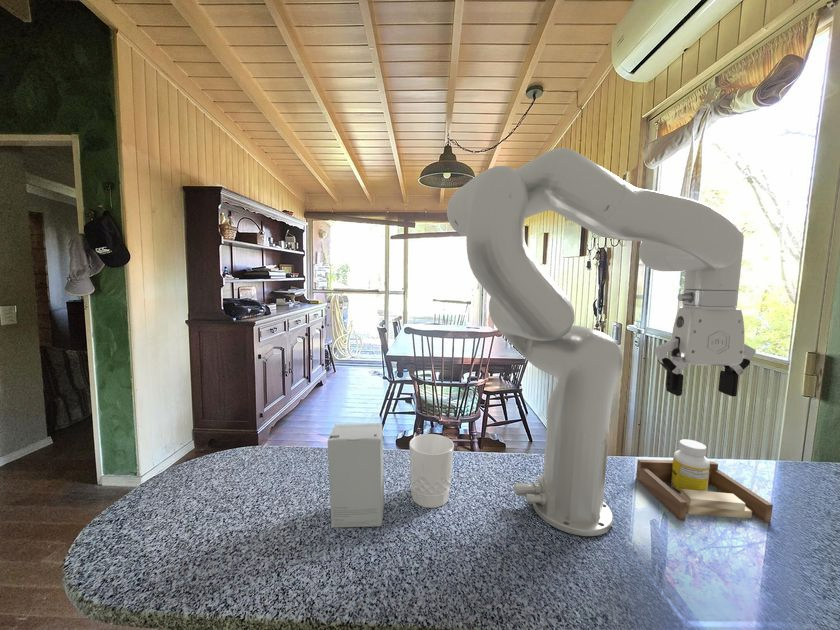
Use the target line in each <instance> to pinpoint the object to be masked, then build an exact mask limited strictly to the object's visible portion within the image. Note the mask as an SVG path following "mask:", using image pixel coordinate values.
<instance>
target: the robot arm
mask: <svg viewBox="0 0 840 630" xmlns="http://www.w3.org/2000/svg"><path fill="white" fill-rule="evenodd" d="M548 211H552V212H554V213H556V214H558V215H560V216H562V217H563V218H565V219H568V220H569V221H571V222H573V223H575V224H577V225H579V226H580V227H582V228H584V229H585V230H588V231H589V232H591V233H592V234H595V236H596V235H597V236H599V237H600V238H601V237H602V238H606V239H611V240H619V241H625V242H626V241H629V242H641V243H640V244H639V248H638V255H639V259H640V261H641V262H642V264H644V265H645V266H646V267H647V268H649V269H650V270H651V269H652V270H654V271H658V272H683V271H684V272H685V273H684V284H683V293H679V294H678V295H677V300H678V302H682V306H679V307H678V310H677V313H676V315H675V319H674V323H673V327H672V328H673V329H672V334H671V339H669V340H668V341H666V342H664V343H662V344H659V345H658V346H656V347H654V348H653V351H654V353H655V355H656V358H657V361H658V363H659V364H660V365H661V366H662V367H663V369H664V370H665V371H666V378H665V387H666V391H667V392H668V393H669V394H672V395H675V396H677V397H681V396H682V394H683V386H684V374H682V371H683V370H684V369H685V368H686V367H687V366H688V365H693V366H713V367H716V366H719V367H720V366H721V367H722V368H723V370H720V373H719V382H718V392H719V393H721V394H724V395H727V396H730V397H737V395H738V387H739V376H741V375H743V374H744V370H745V369H747V367H749V365H750V363H751V360H753V358H754V356H755V355H756V353H757V351H756V349H754V348H753V347H751V346H749V345H747V344H746V343H745V323H744V315H743V312H742V311H743V310H742V309H740V308H738V301H739V300H738V299H739V290H740V282H741V269H742V261H743V259H742V258H743V252H744V251H743V250H744V242H745V241H744V238H745V236H744V233H743V232H742V231H741V230H740V229H739V228H738V227H737V225H736V224H735V223H734V222H733V221H732V220H731V219H729V218H728V217H726V216H725V215H724V214H722V213H721V212H719V211H718V210H716V209H715V208H713V207H711V206H710V205H708V204H705V203H703V202H700V201H697V200H694V199H692V198H687V197H683V196H679V195H675V194H674V195H673V194H669V193H665V192H660V191H655V190H652V189H651V190H650V189H645V188H639V187H636V186H634V185H632V184H631V183H628V182H626V181H625V180H623V179H622V178H620V176H617V175H616V174H614V173H612V172H611V171H609V170H608V169H606V168H604V167H603V166H601V165H599V164H597V163H596V162H594V161H593V160H591V159H589V158H588V157H586V156H584V155H583V154H581V153H580V152H578V151H576V150H573V149H571V148H567V147H556V148H553V149H550V150H548V151H547V152H545V153H542V154H540V155H539V156H537V157H535V158H533V159H532V160H530V161H528V162H526V163H525V164H523V165H522V166H519V167H518V168H516V169H514V168H513V167H510V166H507V165H497V166H493V167H490V168H488V169H485V170H484V171H482V172H479V174H477V175H475V176H474V177H472V178H471V179H470V180H469V181H467V182H466V183H465V184H463V185H462V186H461V187H459V188H458V189H457V190H456V191H454V192H453V194H452V195H451V196H450V199H449V201H448V204H447V207H446V216H447V219H448V223H449V224H450V226H451V228H452V229H453V230H454V231H455V232H456V233H458V234H459V235H461V236H464V237H466V253H467V260H468V264H469V266H470V269H471V272H472V274H473V276H474V278H475V279H476V280H477V282H478V283H479V284H480V286H481V287H482V288H483V289H484V290H485V291H486V293H487V294H488V295H489V296H490V298H489V302H488V312H489V317H490V319H491V322H492V323H493V325H494V326H495V327H496V329H497V330H498V332H499V333H501V334H502V336H504V338H505V339H506V340H507V341H508V342H509V343H510V344H511V345H512V346H513V347H514V348H515V350H517V351H518V353H519V354H520V355H521V356H523V357H524V358H525V359H526V360H527V361H528V362H529V364H531V365H532V366H533V367H535V368H537V369H538V370H540V371H542V372H545V374H549V375H550V376H553V377H555V378H557V381H556V385H555V387H554V389H553V391H552V393H551V395H550V397H549V399H548V403H547V409H546V410H547V411H546V427H545V428H546V431H545V443H544V444H545V445H544V447H545V448H544V461H543V462H544V463H543V475H537V481H533V482H532V483H520V482H518V483H516V482H515V483H514V484H513V485H514V487H513V489H514V490H513V491H514V494H515V496H519V497H520V496H521V497H523V496H524V497H525V502H526V504H532V507H533V509H534V511H535V513H536V514H537V515H538V516H539V517H540V518H541V519H542V520H543V521H544V522H546V523H547V524H549V525H550V526H552V527H554V528H555V529H557V530H559V531H562V532H565V533H567V534H571V535H575V536H582V537H596V536H601V535H603V534H606V533H607V532H609V531H610V530H611V528H612V526H613V523H614V516H613V512H612V510H611V508H610V507H609V506H608V504H607V503H606V502H605V501H604V496H605V485H606V474H607V460H608V452H609V451H608V450H609V449H608V447H609V439H610V438H609V437H610V425H611V413H612V405H613V401H614V395H615V390H616V387H617V385H618V381H619V378H620V375H621V371H622V367H623V355H622V350H621V348H620V346H619V345H618V343H617V342H616V341H615V340H614V339H613V338H612V337H611V336H609V335H608V334H606V333H604V332H602V331H601V330H598V329H594V328H590V327H584V326H582V325H581V326H579V325H576V324H575V310H574V307H573V304H572V302H571V301H570V298H568V296H567V295H566V294H565V292H564V291H563V290H562V289H561V288H560V287H559V286H558V284H557V283H556V282H555V281H554V280H553V279H552V277H551V276H550V275H549V274H548V273H547V272H546V271H545V270H544V268H543V267H542V266H541V265H540V264H539V263H538V261H537V260H536V259H535V257H534V256H533V255H532V253H531V251H530V250H529V248H528V245H527V244H526V240H525V233H524V229H525V228H524V227H525V226H524V225H525V219H528V218H530V217H532V216H536V215H538V214H541V213H545V212H548ZM574 324H575V325H574ZM669 352H670V357H671V358H669V356H668V353H669Z"/></svg>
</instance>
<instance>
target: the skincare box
mask: <svg viewBox="0 0 840 630" xmlns="http://www.w3.org/2000/svg"><path fill="white" fill-rule="evenodd" d="M383 435H384V434H383V423H381V422H380V423H354V424H351V423H349V424H334V426H333V428H332V430H331V433H330V435H329V438H328V439H327V456H328V457H327V459H328V479H329V480H328V482H329V500H330V501H329V504H330V526H331V528H335V529H336V528H361V527H362V528H365V527H366V528H367V527H368V528H369V527H382V525H383V519H384V508H385V477H384V476H385V472H384V439H383V438H384V436H383Z"/></svg>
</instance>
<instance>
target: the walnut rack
mask: <svg viewBox="0 0 840 630" xmlns="http://www.w3.org/2000/svg"><path fill="white" fill-rule="evenodd" d="M709 462H710V468H709V478H708V485H711V486H712V487H714V488H715V489H717V490H718V491H720V493H731V494H734V495H735V496H737V497H738V498H739V499H740V500H742V501H743V502H744V503H745V506H746V507H747V508H749V509H750V510H751V511H752V516H755V518H758V520H760V521H761V522H763V523H765V524H766V523H768V524H771V523H772V514H773V507H774V505H773V503H771V502H769V501H767V500H766V499H765V498H764V497H762V496H760V495H758V494H757V493H755V492H754V491H752V490H751V489H749V488H747V487H746V486H744V485H743V484H741V483H740V482H738V481H737V480H736V479H734V478H733V477H731V476H729V475H728V474H726V473H725V472H723V471H721V470H720V469H718V468H719V463H717V462H716V461H710V460H709ZM636 464H637V465H636V473H635V474H636V476H635V480H636V481H637V482H638V483H639V484H640V485H641V486H642V487H643V488H645V490H646V491H648V493H650V494H651V495H652V496H653V497H654V498H656V500H657V501H658V502H659V503H660V504H661V505H662V506H664V508H666V509H667V510H668V511H669V512H670V513H671V514H672V515H673V516H674V517H675V518H676V519H677V520H678V521H686V518H687V517H686V515H687V512H686V508H687V502H686V501H685V500H684V499H683V498H681V497H680V495H679V494H677V493H675V492H674V491H673V490H672V488H671V486H669V485H667V484H671V479H672V467H673V460H672V459H671V460H669V459H668V460H667V459H637V463H636Z"/></svg>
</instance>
